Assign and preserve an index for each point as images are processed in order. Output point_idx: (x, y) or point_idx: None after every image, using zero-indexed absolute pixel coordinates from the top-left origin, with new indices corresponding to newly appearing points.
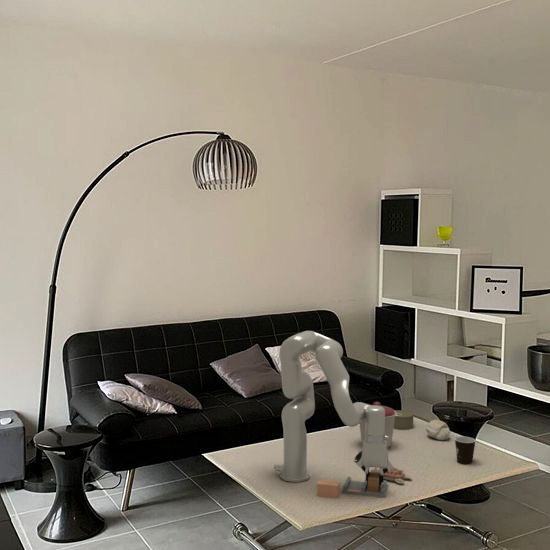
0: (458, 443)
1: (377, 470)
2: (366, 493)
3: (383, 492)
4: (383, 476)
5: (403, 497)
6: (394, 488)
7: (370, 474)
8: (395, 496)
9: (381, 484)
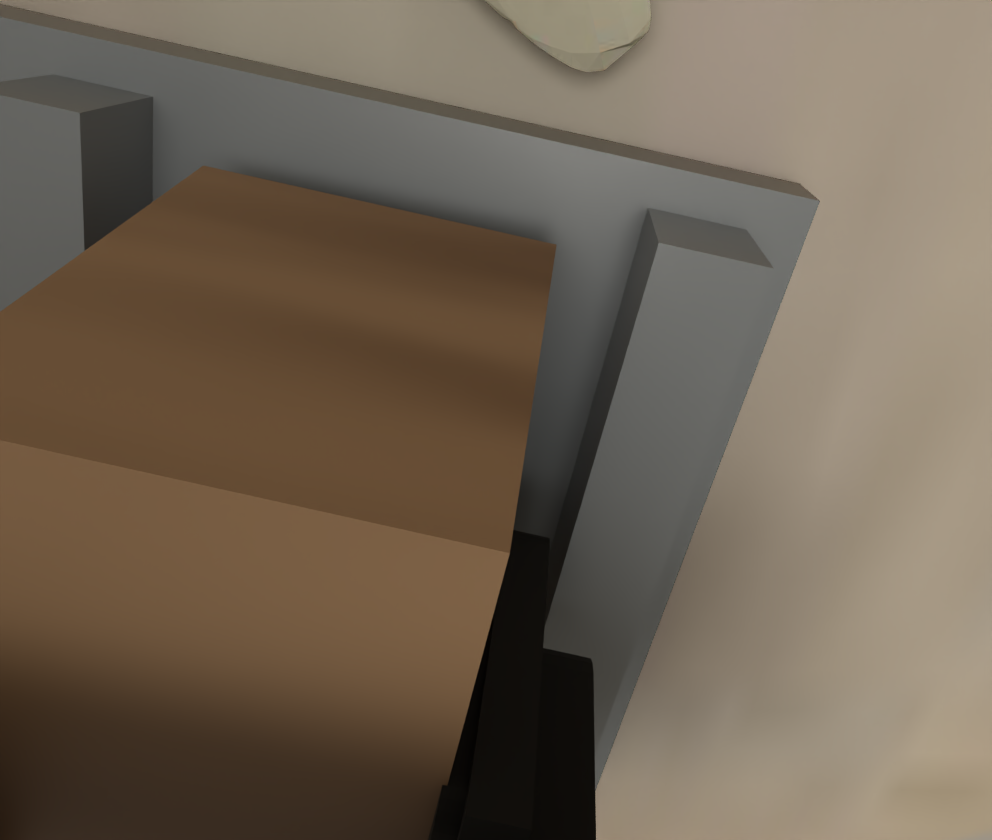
0: None
1: (281, 534)
2: None
3: None
4: (593, 795)
5: (982, 769)
6: (946, 296)
7: (21, 796)
8: (818, 727)
9: (569, 219)
